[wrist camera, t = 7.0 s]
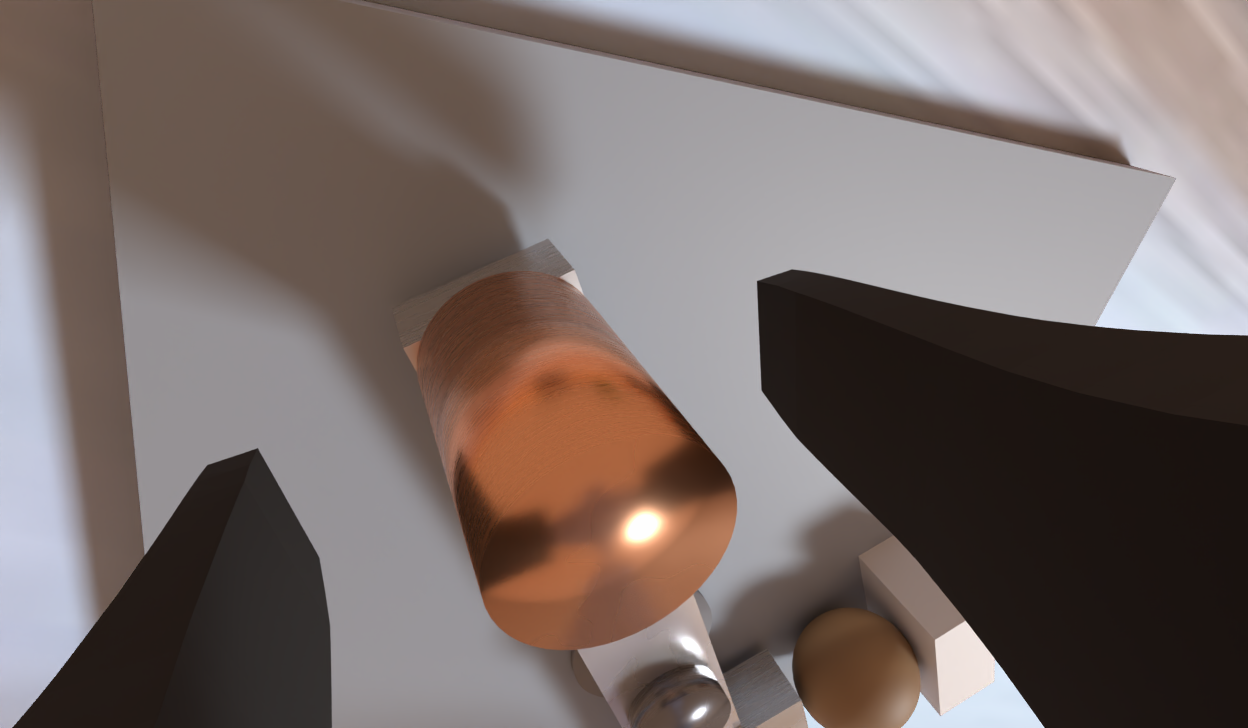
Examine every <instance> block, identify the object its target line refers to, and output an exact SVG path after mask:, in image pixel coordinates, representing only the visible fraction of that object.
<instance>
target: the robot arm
mask: <svg viewBox="0 0 1248 728" xmlns="http://www.w3.org/2000/svg"><path fill="white" fill-rule="evenodd" d="M757 298H758V321H759V345H760V369H761V391H762V392H763V393H764V395H765V396H766V398H767V399H768V400H769V402H770V403H771V405H772V406H773V407H774V409H775V410H776V412H777V413H778V414H779V416H780V417H781V419H782V420H783V421H784V422H785V424H786V425H787V426H788V428H789V429H790V430H791V431H792V433H793V434H794V435H795V437H796V438H797V439H798V440H799V441H800V442H801V443H802V444H803V445H804V446H805V447H806V448H807V449H808V450H809V451H810V452H811V453H812V455H813V456H814V457H815V458H816V459H817V460H818V461H819V462H820V463H821V464H822V465H823V466H824V467H825V468H826V469H827V470H828V471H829V472H830V473H831V474H832V475H833V476H834V477H835V478H836V479H837V480H838V481H839V482H840V483H841V484H842V485H843V486H844V487H845V488H846V489H847V490H848V491H849V492H850V493H851V494H852V495H853V496H854V497H855V498H856V499H857V500H858V501H859V502H860V503H861V504H862V505H863V506H865V507H866V508H867V509H868V510H869V511H870V512H871V513H872V514H873V515H874V516H875V517H876V518H877V519H878V520H879V521H880V522H881V523H882V524H883V525H884V526H885V527H886V528H887V529H888V530H889V531H890V532H891V533H892V534H893V535H894V536H895V537H896V538H897V539H898V541H899V542H900V543H901V544H902V545H903V546H904V547H905V548H906V549H907V550H908V551H909V552H910V554H911V555H912V556H913V557H914V558H915V559H916V560H917V561H918V562H919V564H920V565H921V566H922V567H923V569H924V570H925V571H926V572H927V573H928V575H929V576H930V577H931V578H932V580H933V581H934V582H935V583H936V585H937V586H938V587H939V588H940V589H941V591H942V592H943V593H944V594H945V596H946V597H947V598H948V599H949V601H950V602H951V603H952V604H953V605H954V607H955V608H956V609H957V610H958V612H959V613H960V614H961V615H962V617H963V618H964V619H965V621H966V622H967V623H968V625H969V626H970V627H971V628H972V630H973V631H974V632H975V634H976V635H977V636H978V638H979V639H980V640H981V642H982V643H983V644H984V645H985V647H986V648H987V649H988V651H989V652H990V653H991V655H992V656H993V657H994V658H995V660H996V661H997V662H998V664H999V665H1000V666H1001V668H1002V669H1003V670H1004V672H1005V673H1006V674H1007V676H1008V677H1009V679H1010V680H1011V681H1012V683H1013V684H1014V686H1015V687H1016V688H1017V690H1018V691H1019V693H1020V694H1021V695H1022V697H1023V698H1024V700H1025V701H1026V702H1027V704H1028V705H1029V706H1030V708H1031V709H1032V711H1033V712H1034V713H1035V715H1036V716H1037V718H1038V719H1039V720H1040V722H1041V723H1042V725H1043V726H1044V727H1045V728H1248V336H1245V335H1208V334H1189V333H1172V332H1155V331H1139V330H1127V329H1116V328H1105V327H1096V326H1087V325H1079V324H1071V323H1063V322H1055V321H1047V320H1040V319H1033V318H1027V317H1020V316H1014V315H1009V314H1003V313H998V312H992V311H987V310H982V309H976V308H971V307H966V306H961V305H956V304H952V303H947V302H942V301H937V300H933V299H929V298H924V297H920V296H915V295H911V294H907V293H902V292H898V291H894V290H890V289H886V288H881V287H877V286H873V285H869V284H865V283H860V282H856V281H852V280H848V279H843V278H839V277H834V276H830V275H825V274H820V273H815V272H809V271H802V270H794V269H791V270H788V271H785V272H782V273H779V274H776V275H773V276H770V277H767V278H764V279H761V280H758V281H757ZM13 728H332V686H331V637H330V621H329V614H328V607H327V600H326V593H325V587H324V581H323V576H322V570H321V564H320V558H319V556H318V554H317V552H316V550H315V549H314V547H313V545H312V543H311V542H310V540H309V538H308V536H307V534H306V533H305V531H304V529H303V527H302V526H301V524H300V522H299V520H298V518H297V517H296V515H295V513H294V511H293V510H292V508H291V506H290V504H289V503H288V501H287V499H286V497H285V495H284V494H283V492H282V490H281V488H280V487H279V485H278V483H277V481H276V479H275V478H274V476H273V474H272V472H271V471H270V469H269V467H268V465H267V463H266V462H265V460H264V458H263V456H262V455H261V453H260V451H259V449H258V448H257V449H254V450H251V451H248V452H245V453H242V454H239V455H236V456H233V457H230V458H227V459H224V460H221V461H218V462H215V463H212V464H209V465H207V466H206V467H205V469H204V470H203V471H202V472H201V474H200V475H199V476H198V478H197V479H196V481H195V482H194V483H193V485H192V486H191V488H190V489H189V491H188V492H187V494H186V495H185V497H184V498H183V500H182V501H181V503H180V504H179V506H178V507H177V509H176V510H175V512H174V513H173V515H172V516H171V518H170V519H169V521H168V522H167V524H166V525H165V527H164V528H163V530H162V531H161V532H160V534H159V535H158V537H157V538H156V540H155V541H154V543H153V544H152V546H151V547H150V549H149V550H148V551H147V553H146V554H145V556H144V557H143V559H142V560H141V562H140V563H139V564H138V566H137V567H136V569H135V570H134V572H133V573H132V575H131V576H130V577H129V579H128V580H127V582H126V583H125V585H124V586H123V588H122V589H121V590H120V592H119V593H118V595H117V596H116V597H115V599H114V600H113V601H112V603H111V604H110V605H109V607H108V608H107V609H106V611H105V612H104V613H103V614H102V616H101V617H100V618H99V620H98V621H97V622H96V624H95V625H94V626H93V628H92V629H91V630H90V632H89V633H88V634H87V636H86V637H85V638H84V639H83V641H82V642H81V643H80V645H79V646H78V647H77V649H76V650H75V651H74V653H73V654H72V655H71V657H70V658H69V659H68V661H67V662H66V663H65V665H64V666H63V667H62V668H61V670H60V671H59V672H58V674H57V675H56V676H55V677H54V679H53V680H52V681H51V682H50V684H49V685H48V686H47V687H46V689H45V690H44V691H43V692H42V693H41V695H40V696H39V697H38V698H37V699H36V701H35V702H34V703H33V704H32V705H31V707H30V708H29V709H28V710H27V711H26V713H25V714H24V715H23V716H22V717H21V718H20V720H19V721H18V722H17V723H16V724H15V726H14V727H13Z"/></svg>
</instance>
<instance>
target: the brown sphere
mask: <svg viewBox="0 0 1248 728" xmlns="http://www.w3.org/2000/svg"><path fill="white" fill-rule="evenodd" d="M792 673H793V681H794V684H795V688H796V691H797V693H798V695H799V697H800V699H801V701H802V703H803V705H804V707H805V708H806V709H807V711H808V712H809V713H810V715H811V716H812V717H813V718H814V719H815V720H816V721H817V722H818V723H819V724H821V725H822V726H823V727H825V728H901V727H902V726H903V725H904V724H905V723H906V722H907V721H908V719H909V718H910V716H911V715H912V713H913V712H914V710H915V707H916V705H917V702H918V699H919V694H920V683H921V678H920V670H919V665H918V662H917V658H916V656H915V654H914V651H913V649H912V647H911V645H910V644H909V642H908V641H907V639H906V638H905V637H904V635H903V634H902V633H901V632H900V631H899V630H898V629H897V628H896V627H895V626H894V625H893V624H892V623H890V622H889V621H888V620H886V619H885V618H883V617H881V616H880V615H878V614H875V613H873V612H871V611H868V610H864V609H860V608H849V607H847V608H837V609H833V610H830V611H827V612H825V613H823V614H821V615H819V616H817V617H816V618H815V619H813V620H812V621H811V622H810V623H809V624H808V625H807V626H806V627H805V628H804V630H803V631H802V633H801V634H800V636H799V638H798V640H797V642H796V645H795V648H794V652H793V658H792Z"/></svg>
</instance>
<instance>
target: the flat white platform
mask: <svg viewBox="0 0 1248 728" xmlns="http://www.w3.org/2000/svg"><path fill="white" fill-rule="evenodd" d="M92 7H93V18H94V29H95V39H96V50H97V60H98V71H99V81H100V92H101V102H102V113H103V123H104V134H105V144H106V155H107V165H108V176H109V186H110V197H111V207H112V218H113V228H114V239H115V249H116V260H117V270H118V281H119V291H120V302H121V312H122V323H123V333H124V344H125V354H126V365H127V375H128V386H129V396H130V407H131V417H132V428H133V438H134V449H135V459H136V470H137V480H138V491H139V501H140V512H141V522H142V533H143V543H144V554H146V553H147V551H148V550H149V549H150V547H151V546H152V544H153V543H154V541H155V540H156V538H157V537H158V535H159V534H160V532H161V531H162V530H163V528H164V527H165V525H166V524H167V522H168V521H169V519H170V518H171V516H172V515H173V513H174V512H175V510H176V509H177V507H178V506H179V504H180V503H181V501H182V500H183V498H184V497H185V495H186V494H187V492H188V491H189V489H190V488H191V486H192V485H193V483H194V482H195V481H196V479H197V478H198V476H199V475H200V474H201V472H202V471H203V470H204V469H205V467H206V466H207V465H209V464H212V463H215V462H218V461H221V460H224V459H227V458H230V457H233V456H236V455H239V454H242V453H245V452H248V451H251V450H254V449H257V448H258V449H259V451H260V453H261V455H262V456H263V458H264V460H265V462H266V463H267V465H268V467H269V469H270V471H271V472H272V474H273V476H274V478H275V479H276V481H277V483H278V485H279V487H280V488H281V490H282V492H283V494H284V495H285V497H286V499H287V501H288V503H289V504H290V506H291V508H292V510H293V511H294V513H295V515H296V517H297V518H298V520H299V522H300V524H301V526H302V527H303V529H304V531H305V533H306V534H307V536H308V538H309V540H310V542H311V543H312V545H313V547H314V549H315V550H316V552H317V554H318V556H319V558H320V564H321V570H322V576H323V581H324V587H325V593H326V600H327V607H328V614H329V621H330V637H331V686H332V728H622V727H621V725H620V723H619V721H618V720H617V718H616V716H615V714H614V713H613V711H612V709H611V708H610V706H609V704H608V702H607V701H606V699H605V697H604V695H603V694H602V692H601V690H600V689H599V687H598V685H597V683H596V682H595V680H594V678H593V676H592V675H591V673H590V671H589V669H588V668H587V666H586V664H585V663H584V661H583V659H582V657H581V656H580V654H579V652H578V650H552V649H543V648H539V647H534V646H530V645H528V644H525V643H522V642H520V641H518V640H516V639H514V638H512V637H511V636H509V635H507V634H506V633H505V632H504V631H502V630H501V629H500V628H499V627H498V626H497V625H496V624H495V622H494V621H493V620H492V619H491V618H490V616H489V614H488V612H487V610H486V608H485V606H484V603H483V599H482V596H481V593H480V589H479V586H478V582H477V579H476V576H475V572H474V569H473V565H472V562H471V559H470V555H469V552H468V549H467V545H466V542H465V538H464V535H463V532H462V528H461V525H460V521H459V518H458V515H457V511H456V508H455V504H454V501H453V498H452V494H451V491H450V487H449V484H448V481H447V477H446V474H445V470H444V467H443V464H442V460H441V457H440V453H439V450H438V447H437V443H436V440H435V436H434V433H433V430H432V426H431V423H430V419H429V416H428V413H427V409H426V406H425V402H424V399H423V396H422V392H421V389H420V385H419V382H418V376H417V372H416V370H415V368H414V366H413V365H412V363H411V361H410V359H409V358H408V356H407V354H406V352H405V351H404V349H403V346H402V343H401V339H400V335H399V332H398V328H397V325H396V321H395V318H394V314H393V311H392V308H394V307H396V306H398V305H401V304H403V303H405V302H407V301H410V300H412V299H414V298H416V297H419V296H421V295H423V294H425V293H428V292H430V291H432V290H434V289H436V288H439V287H441V286H443V285H445V284H448V283H450V282H452V281H454V280H457V279H459V278H461V277H463V276H466V275H468V274H470V273H472V272H474V271H477V270H479V269H481V268H483V267H486V266H488V265H490V264H492V263H495V262H497V261H499V260H501V259H504V258H506V257H508V256H510V255H513V254H515V253H517V252H519V251H521V250H524V249H526V248H528V247H530V246H533V245H535V244H537V243H539V242H542V241H544V240H546V239H549V240H550V241H551V243H552V244H553V245H554V246H555V247H556V248H557V250H558V251H559V252H560V253H561V254H562V256H563V257H564V258H565V259H566V260H567V261H568V263H569V264H570V265H571V266H572V267H573V268H574V270H575V272H576V275H577V277H578V280H579V283H580V286H581V288H582V291H583V294H584V296H585V297H586V298H587V299H588V300H589V301H590V303H591V304H592V305H593V306H594V307H595V309H596V310H597V311H598V312H599V313H600V315H601V316H602V317H603V318H604V320H605V321H606V322H607V323H608V324H609V326H610V327H611V328H612V329H613V331H614V332H615V333H616V334H617V335H618V337H619V338H620V339H621V340H622V342H623V343H624V344H625V345H626V346H627V348H628V349H629V350H630V351H631V353H632V354H633V355H634V356H635V357H636V359H637V360H638V361H639V362H640V364H641V365H642V366H643V367H644V368H645V370H646V371H647V372H648V373H649V375H650V376H651V377H652V378H653V379H654V381H655V382H656V383H657V384H658V386H659V387H660V388H661V389H662V390H663V392H664V393H665V394H666V395H667V397H668V398H669V399H670V400H671V401H672V403H673V404H674V405H675V406H676V408H677V409H678V410H679V411H680V412H681V414H682V415H683V416H684V417H685V419H686V420H687V421H688V422H689V423H690V425H691V426H692V427H693V428H694V430H695V431H696V432H697V433H698V434H699V436H700V437H701V438H702V439H703V441H704V442H705V443H706V444H707V445H708V447H709V448H710V449H711V450H712V452H713V453H714V454H715V455H716V456H717V458H718V459H719V460H720V461H721V463H722V464H723V465H724V466H725V468H726V469H727V471H728V473H729V474H730V476H731V478H732V481H733V484H734V486H735V491H736V496H737V516H736V523H735V527H734V531H733V534H732V538H731V540H730V542H729V545H728V547H727V549H726V551H725V553H724V555H723V557H722V559H721V560H720V562H719V564H718V565H717V567H716V568H715V569H714V571H713V572H712V574H711V575H710V576H709V577H708V579H707V580H706V581H705V582H704V583H703V585H702V586H701V587H700V588H699V589H698V590H697V591H696V592H695V593H694V594H693V595H694V597H695V600H696V603H697V606H698V608H699V611H700V614H701V617H702V619H703V622H704V625H705V628H706V630H707V633H708V636H709V638H710V641H711V644H712V647H713V649H714V652H715V655H716V658H717V660H718V663H719V666H720V669H721V671H722V674H724V673H725V672H727V671H729V670H730V669H732V668H734V667H736V666H737V665H739V664H741V663H743V662H744V661H746V660H748V659H750V658H751V657H753V656H755V655H756V654H758V653H760V652H762V651H763V650H765V649H767V650H768V651H769V653H770V654H771V655H772V657H773V658H774V660H775V661H776V663H777V664H778V666H779V667H780V669H781V670H782V672H783V673H784V675H785V676H786V678H787V679H788V681H789V682H790V684H791V685H792V687H793V688H794V690H795V691H796V688H795V684H794V681H793V673H792V658H793V652H794V648H795V645H796V642H797V640H798V638H799V636H800V634H801V633H802V631H803V630H804V628H805V627H806V626H807V625H808V624H809V623H810V622H811V621H812V620H813V619H815V618H816V617H817V616H819V615H821V614H823V613H825V612H827V611H830V610H833V609H837V608H847V607H849V608H860V609H864V610H868V611H871V612H873V613H875V614H878V615H880V616H881V617H883V618H885V619H886V620H888V621H889V622H890V623H892V624H893V625H894V626H895V627H896V628H897V629H898V630H899V631H900V632H901V633H902V634H903V635H904V637H905V638H906V639H907V641H908V642H909V644H910V645H911V647H912V649H913V651H914V654H915V656H916V658H917V662H918V665H919V670H920V678H921V683H920V692H921V693H922V694H923V695H924V697H925V698H926V699H927V700H928V701H929V703H930V704H931V705H932V706H933V707H934V709H935V710H936V711H937V712H938V713H939V715H940V716H941V715H943V714H944V713H946V712H948V711H949V710H951V709H952V708H954V707H955V706H957V705H958V704H960V703H962V702H963V701H965V700H966V699H968V698H969V697H971V696H972V695H974V694H976V693H977V692H979V691H980V690H982V689H983V688H985V687H986V686H988V685H990V684H991V683H993V682H994V667H995V658H994V657H993V656H992V655H991V653H990V652H989V651H988V649H987V648H986V647H985V645H984V644H983V643H982V642H981V640H980V639H979V638H978V636H977V635H976V634H975V632H974V631H973V630H972V628H971V627H970V626H969V625H968V623H967V622H966V621H965V619H964V618H963V617H962V615H961V614H960V613H959V612H958V610H957V609H956V608H955V607H954V605H953V604H952V603H951V602H950V601H949V599H948V598H947V597H946V596H945V594H944V593H943V592H942V591H941V589H940V588H939V587H938V586H937V585H936V583H935V582H934V581H933V580H932V578H931V577H930V576H929V575H928V573H927V572H926V571H925V570H924V569H923V567H922V566H921V565H920V564H919V562H918V561H917V560H916V559H915V558H914V557H913V556H912V555H911V554H910V552H909V551H908V550H907V549H906V548H905V547H904V546H903V545H902V544H901V543H900V542H899V541H898V539H897V538H896V537H895V536H894V535H893V534H892V533H891V532H890V531H889V530H888V529H887V528H886V527H885V526H884V525H883V524H882V523H881V522H880V521H879V520H878V519H877V518H876V517H875V516H874V515H873V514H872V513H871V512H870V511H869V510H868V509H867V508H866V507H865V506H863V505H862V504H861V503H860V502H859V501H858V500H857V499H856V498H855V497H854V496H853V495H852V494H851V493H850V492H849V491H848V490H847V489H846V488H845V487H844V486H843V485H842V484H841V483H840V482H839V481H838V480H837V479H836V478H835V477H834V476H833V475H832V474H831V473H830V472H829V471H828V470H827V469H826V468H825V467H824V466H823V465H822V464H821V463H820V462H819V461H818V460H817V459H816V458H815V457H814V456H813V455H812V453H811V452H810V451H809V450H808V449H807V448H806V447H805V446H804V445H803V444H802V443H801V442H800V441H799V440H798V439H797V438H796V437H795V435H794V434H793V433H792V431H791V430H790V429H789V428H788V426H787V425H786V424H785V422H784V421H783V420H782V419H781V417H780V416H779V414H778V413H777V412H776V410H775V409H774V407H773V406H772V405H771V403H770V402H769V400H768V399H767V398H766V396H765V395H764V393H763V392H762V391H761V369H760V345H759V321H758V298H757V281H758V280H761V279H764V278H767V277H770V276H773V275H776V274H779V273H782V272H785V271H788V270H791V269H794V270H802V271H809V272H815V273H820V274H825V275H830V276H834V277H839V278H843V279H848V280H852V281H856V282H860V283H865V284H869V285H873V286H877V287H881V288H886V289H890V290H894V291H898V292H902V293H907V294H911V295H915V296H920V297H924V298H929V299H933V300H937V301H942V302H947V303H952V304H956V305H961V306H966V307H971V308H976V309H982V310H987V311H992V312H998V313H1003V314H1009V315H1014V316H1020V317H1027V318H1033V319H1040V320H1047V321H1055V322H1063V323H1071V324H1079V325H1087V326H1095V325H1096V323H1097V321H1098V319H1099V318H1100V316H1101V314H1102V312H1103V310H1104V309H1105V307H1106V305H1107V303H1108V301H1109V299H1110V298H1111V296H1112V294H1113V292H1114V290H1115V289H1116V287H1117V285H1118V283H1119V281H1120V280H1121V278H1122V276H1123V274H1124V272H1125V271H1126V269H1127V267H1128V265H1129V263H1130V261H1131V260H1132V258H1133V256H1134V254H1135V252H1136V251H1137V249H1138V247H1139V245H1140V243H1141V242H1142V240H1143V238H1144V236H1145V234H1146V232H1147V231H1148V229H1149V227H1150V225H1151V223H1152V222H1153V220H1154V218H1155V216H1156V214H1157V213H1158V211H1159V209H1160V207H1161V205H1162V203H1163V202H1164V200H1165V198H1166V196H1167V194H1168V193H1169V191H1170V189H1171V187H1172V185H1173V184H1174V182H1175V180H1176V178H1173V177H1170V176H1166V175H1163V174H1159V173H1155V172H1152V171H1148V170H1145V169H1141V168H1138V167H1134V166H1130V165H1125V164H1120V163H1116V162H1111V161H1106V160H1102V159H1097V158H1092V157H1088V156H1083V155H1079V154H1074V153H1069V152H1065V151H1060V150H1055V149H1051V148H1046V147H1041V146H1037V145H1032V144H1027V143H1023V142H1018V141H1014V140H1009V139H1004V138H1000V137H995V136H990V135H986V134H981V133H976V132H972V131H967V130H962V129H958V128H953V127H949V126H944V125H939V124H935V123H930V122H925V121H921V120H916V119H911V118H907V117H902V116H897V115H893V114H888V113H883V112H879V111H874V110H870V109H865V108H860V107H856V106H851V105H846V104H842V103H837V102H832V101H828V100H823V99H818V98H814V97H809V96H805V95H800V94H795V93H791V92H786V91H781V90H777V89H772V88H767V87H763V86H758V85H753V84H749V83H744V82H740V81H735V80H730V79H726V78H721V77H716V76H712V75H707V74H702V73H698V72H693V71H688V70H684V69H679V68H675V67H670V66H665V65H661V64H656V63H651V62H647V61H642V60H637V59H633V58H628V57H623V56H619V55H614V54H610V53H605V52H600V51H596V50H591V49H586V48H582V47H577V46H572V45H568V44H563V43H558V42H554V41H549V40H545V39H540V38H535V37H531V36H526V35H521V34H517V33H512V32H507V31H503V30H498V29H493V28H489V27H484V26H480V25H475V24H470V23H466V22H461V21H456V20H452V19H447V18H442V17H438V16H433V15H428V14H424V13H419V12H415V11H410V10H405V9H401V8H396V7H391V6H387V5H382V4H377V3H373V2H368V1H363V0H92ZM796 693H797V691H796ZM797 694H798V693H797ZM798 696H799V695H798ZM802 705H803V703H802ZM803 706H804V705H803Z"/></svg>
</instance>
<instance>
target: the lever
mask: <svg viewBox="0 0 1248 728" xmlns="http://www.w3.org/2000/svg"><path fill="white" fill-rule="evenodd" d="M392 311H393V314H394V318H395V321H396V325H397V328H398V332H399V335H400V339H401V343H402V346H403V349H404V351H405V352H406V354H407V356H408V358H409V359H410V361H411V363H412V365H413V366H414V368H415V370H416V372H417V376H418V382H419V385H420V389H421V392H422V396H423V399H424V402H425V406H426V409H427V413H428V416H429V419H430V423H431V426H432V430H433V433H434V436H435V440H436V443H437V447H438V450H439V453H440V457H441V460H442V464H443V467H444V470H445V474H446V477H447V481H448V484H449V487H450V491H451V494H452V498H453V501H454V504H455V508H456V511H457V515H458V518H459V521H460V525H461V528H462V532H463V535H464V538H465V542H466V545H467V549H468V552H469V555H470V559H471V562H472V565H473V569H474V572H475V576H476V579H477V582H478V586H479V589H480V593H481V596H482V599H483V603H484V606H485V608H486V610H487V612H488V614H489V616H490V618H491V619H492V620H493V621H494V622H495V624H496V625H497V626H498V627H499V628H500V629H501V630H502V631H504V632H505V633H506V634H507V635H509V636H511V637H512V638H514V639H516V640H518V641H520V642H522V643H525V644H528V645H530V646H534V647H539V648H543V649H552V650H578V652H579V654H580V656H581V657H582V659H583V661H584V663H585V664H586V666H587V668H588V669H589V671H590V673H591V675H592V676H593V678H594V680H595V682H596V683H597V685H598V687H599V689H600V690H601V692H602V694H603V695H604V697H605V699H606V701H607V702H608V704H609V706H610V708H611V709H612V711H613V713H614V714H615V716H616V718H617V720H618V721H619V723H620V725H621V727H622V728H808V725H807V721H806V717H805V713H804V709H803V705H802V701H801V699H800V697H799V696H798V694H797V693H796V691H795V690H794V688H793V687H792V685H791V684H790V682H789V681H788V679H787V678H786V676H785V675H784V673H783V672H782V670H781V669H780V667H779V666H778V664H777V663H776V661H775V660H774V658H773V657H772V655H771V654H770V653H769V651H768V650H767V649H765V650H763V651H762V652H760V653H758V654H756V655H755V656H753V657H751V658H750V659H748V660H746V661H744V662H743V663H741V664H739V665H737V666H736V667H734V668H732V669H730V670H729V671H727V672H725V673H724V674H722V671H721V669H720V666H719V663H718V660H717V658H716V655H715V652H714V649H713V647H712V644H711V641H710V638H709V636H708V633H707V630H706V628H705V625H704V622H703V619H702V617H701V614H700V611H699V608H698V606H697V603H696V600H695V597H694V595H693V594H694V593H695V592H696V591H697V590H698V589H699V588H700V587H701V586H702V585H703V583H704V582H705V581H706V580H707V579H708V577H709V576H710V575H711V574H712V572H713V571H714V569H715V568H716V567H717V565H718V564H719V562H720V560H721V559H722V557H723V555H724V553H725V551H726V549H727V547H728V545H729V542H730V540H731V538H732V534H733V531H734V527H735V523H736V516H737V496H736V491H735V486H734V484H733V481H732V478H731V476H730V474H729V473H728V471H727V469H726V468H725V466H724V465H723V464H722V463H721V461H720V460H719V459H718V458H717V456H716V455H715V454H714V453H713V452H712V450H711V449H710V448H709V447H708V445H707V444H706V443H705V442H704V441H703V439H702V438H701V437H700V436H699V434H698V433H697V432H696V431H695V430H694V428H693V427H692V426H691V425H690V423H689V422H688V421H687V420H686V419H685V417H684V416H683V415H682V414H681V412H680V411H679V410H678V409H677V408H676V406H675V405H674V404H673V403H672V401H671V400H670V399H669V398H668V397H667V395H666V394H665V393H664V392H663V390H662V389H661V388H660V387H659V386H658V384H657V383H656V382H655V381H654V379H653V378H652V377H651V376H650V375H649V373H648V372H647V371H646V370H645V368H644V367H643V366H642V365H641V364H640V362H639V361H638V360H637V359H636V357H635V356H634V355H633V354H632V353H631V351H630V350H629V349H628V348H627V346H626V345H625V344H624V343H623V342H622V340H621V339H620V338H619V337H618V335H617V334H616V333H615V332H614V331H613V329H612V328H611V327H610V326H609V324H608V323H607V322H606V321H605V320H604V318H603V317H602V316H601V315H600V313H599V312H598V311H597V310H596V309H595V307H594V306H593V305H592V304H591V303H590V301H589V300H588V299H587V298H586V297H585V296H584V294H583V291H582V288H581V286H580V283H579V280H578V277H577V275H576V272H575V270H574V268H573V267H572V266H571V265H570V264H569V263H568V261H567V260H566V259H565V258H564V257H563V256H562V254H561V253H560V252H559V251H558V250H557V248H556V247H555V246H554V245H553V244H552V243H551V241H550V240H549V239H546V240H544V241H542V242H539V243H537V244H535V245H533V246H530V247H528V248H526V249H524V250H521V251H519V252H517V253H515V254H513V255H510V256H508V257H506V258H504V259H501V260H499V261H497V262H495V263H492V264H490V265H488V266H486V267H483V268H481V269H479V270H477V271H474V272H472V273H470V274H468V275H466V276H463V277H461V278H459V279H457V280H454V281H452V282H450V283H448V284H445V285H443V286H441V287H439V288H436V289H434V290H432V291H430V292H428V293H425V294H423V295H421V296H419V297H416V298H414V299H412V300H410V301H407V302H405V303H403V304H401V305H398V306H396V307H394V308H392Z"/></svg>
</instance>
